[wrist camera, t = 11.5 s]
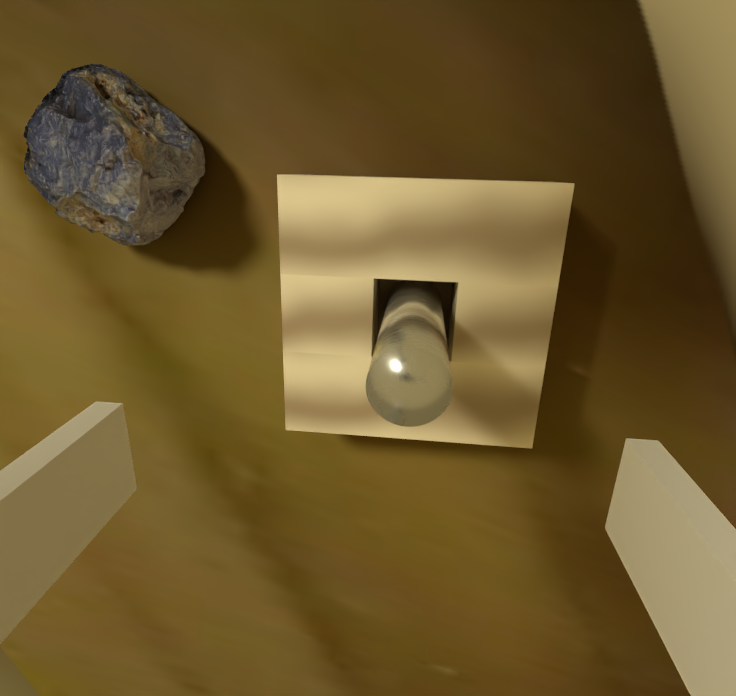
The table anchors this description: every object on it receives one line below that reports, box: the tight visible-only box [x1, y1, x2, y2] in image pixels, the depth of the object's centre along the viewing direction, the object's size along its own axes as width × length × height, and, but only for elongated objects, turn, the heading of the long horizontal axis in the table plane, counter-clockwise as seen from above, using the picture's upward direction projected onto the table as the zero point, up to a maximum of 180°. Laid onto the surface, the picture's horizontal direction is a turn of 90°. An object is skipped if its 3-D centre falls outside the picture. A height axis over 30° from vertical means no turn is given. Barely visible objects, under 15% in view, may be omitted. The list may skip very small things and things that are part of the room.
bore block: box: [277, 174, 575, 448], centre depth 36 cm, size 18×18×6 cm
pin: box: [366, 280, 453, 427], centre depth 30 cm, size 4×4×16 cm
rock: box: [24, 64, 205, 246], centre depth 34 cm, size 11×10×10 cm
